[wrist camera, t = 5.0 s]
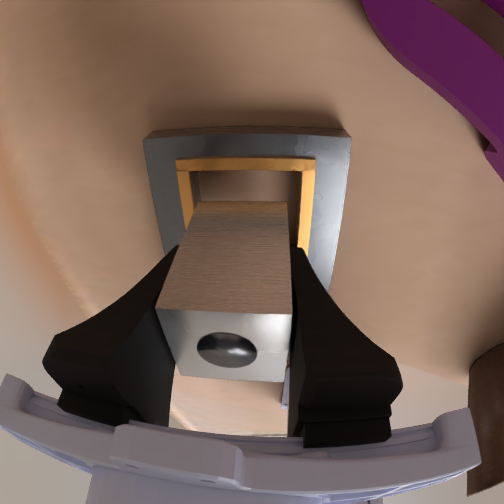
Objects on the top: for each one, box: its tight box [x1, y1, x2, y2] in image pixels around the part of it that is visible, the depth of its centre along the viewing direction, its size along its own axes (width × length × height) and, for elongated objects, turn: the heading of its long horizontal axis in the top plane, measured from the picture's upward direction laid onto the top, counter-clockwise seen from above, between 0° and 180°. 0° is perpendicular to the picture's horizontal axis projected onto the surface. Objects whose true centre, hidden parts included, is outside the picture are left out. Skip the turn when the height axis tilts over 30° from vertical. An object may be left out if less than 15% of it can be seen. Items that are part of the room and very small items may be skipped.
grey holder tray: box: [143, 126, 352, 361], centre depth 19 cm, size 18×10×2 cm, turn 1°
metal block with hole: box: [155, 201, 292, 382], centre depth 12 cm, size 4×4×7 cm
